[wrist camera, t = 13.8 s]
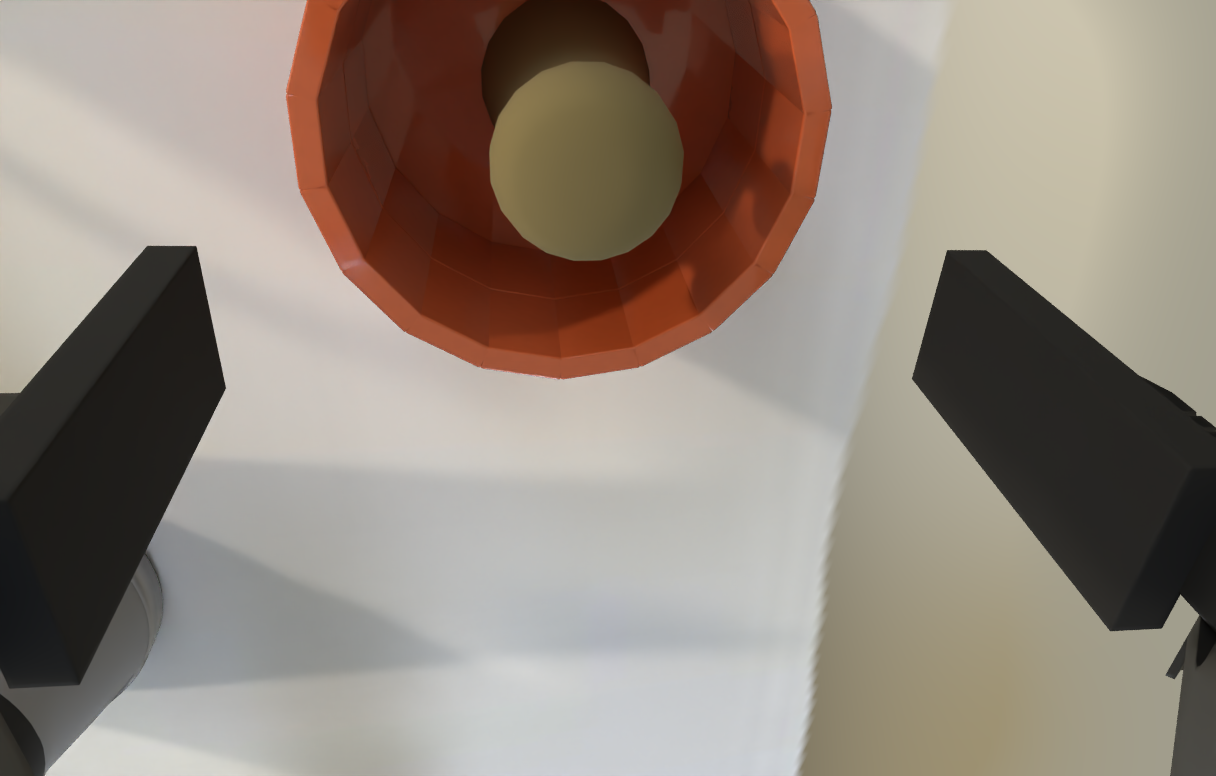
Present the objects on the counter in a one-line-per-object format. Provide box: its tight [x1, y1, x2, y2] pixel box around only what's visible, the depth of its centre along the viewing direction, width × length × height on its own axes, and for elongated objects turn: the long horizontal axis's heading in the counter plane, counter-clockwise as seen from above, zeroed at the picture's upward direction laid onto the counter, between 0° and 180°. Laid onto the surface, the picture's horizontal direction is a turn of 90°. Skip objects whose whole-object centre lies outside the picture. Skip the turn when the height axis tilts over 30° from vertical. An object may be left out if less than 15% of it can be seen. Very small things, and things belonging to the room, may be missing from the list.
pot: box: [286, 0, 832, 379], centre depth 28 cm, size 15×15×9 cm
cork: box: [481, 0, 684, 261], centre depth 27 cm, size 6×6×11 cm
